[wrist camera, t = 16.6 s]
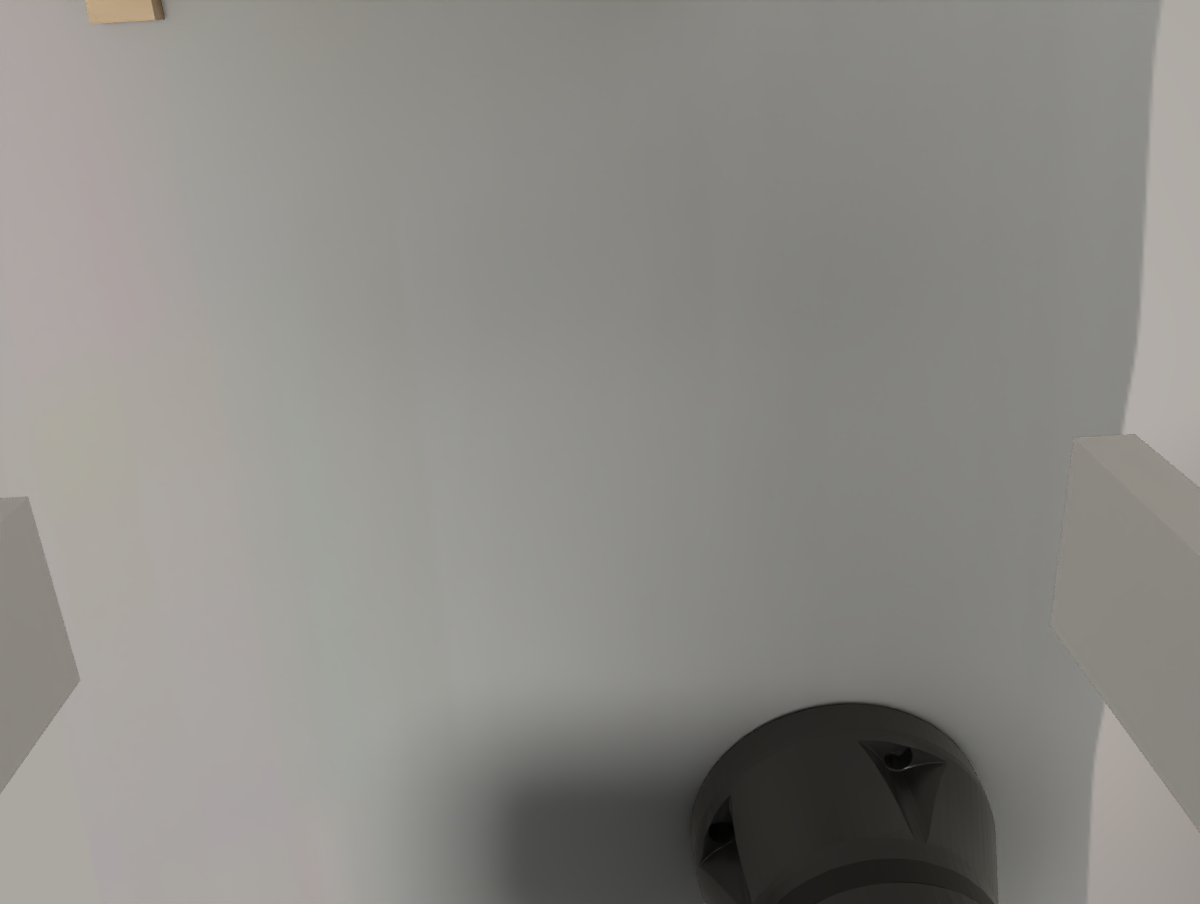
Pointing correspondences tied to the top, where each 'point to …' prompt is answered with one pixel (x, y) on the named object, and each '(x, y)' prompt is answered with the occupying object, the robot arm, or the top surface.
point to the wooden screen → (123, 10)
